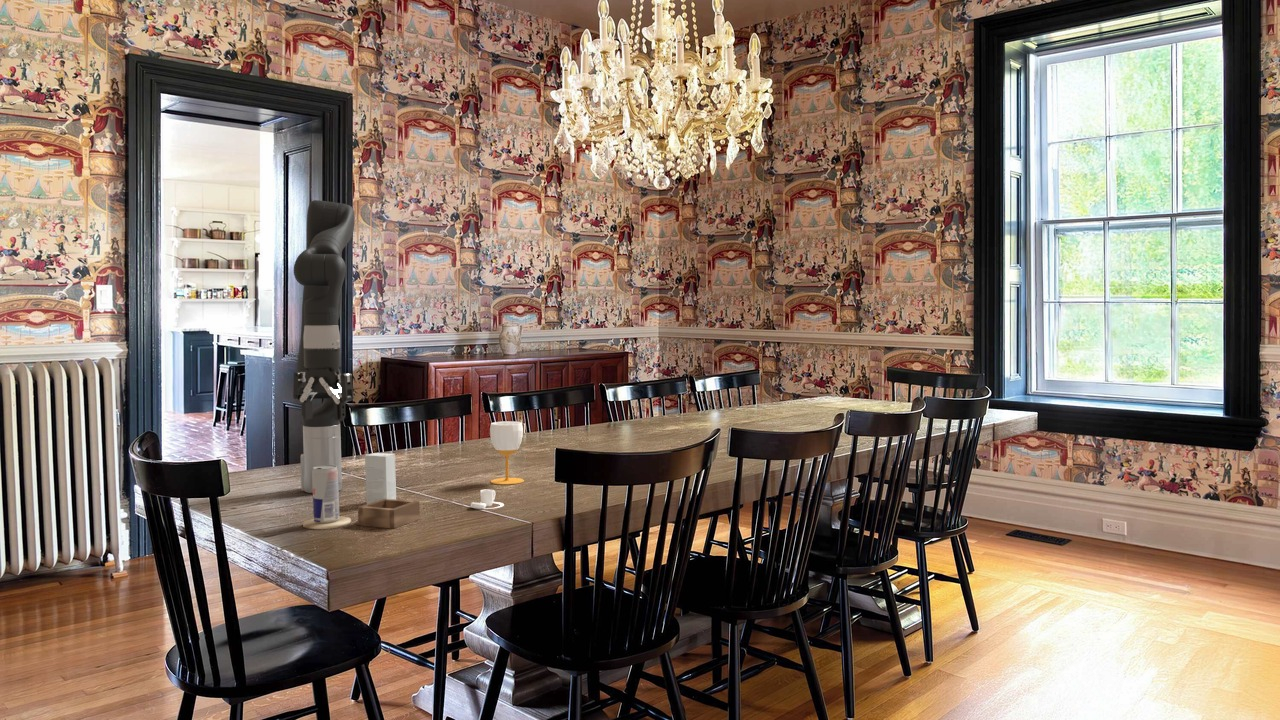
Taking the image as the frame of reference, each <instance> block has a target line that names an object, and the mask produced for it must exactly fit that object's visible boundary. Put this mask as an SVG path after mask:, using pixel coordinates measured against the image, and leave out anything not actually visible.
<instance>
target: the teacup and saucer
mask: <svg viewBox="0 0 1280 720" xmlns="http://www.w3.org/2000/svg"><path fill="white" fill-rule="evenodd" d="M496 496H497V495H496V490H494V489H492V488H491V489H489V488H487V489H485V488H484V489H480V502H476V501H475V502H474V501H473V502H470V508H472V509H475V510H493V509H494V510H495V509H499V508H502V507H504V506H505V504H504V502H500V501H495V498H496ZM493 504H495V505H496V504H497V505H498V506H495V507H491V506H493ZM499 505H500V506H499Z"/></svg>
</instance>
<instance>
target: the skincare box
mask: <svg viewBox="0 0 1280 720" xmlns="http://www.w3.org/2000/svg"><path fill="white" fill-rule="evenodd" d="M364 463H365V465H364V467H365V469H364V470H365V471H364V472H365V500H366V504H369V503H372V502H375V501H378V500H381V499H396V500H397V483H396V481H397V480H396V479H397V477H396V476H397V475H396V454H395V453H387V452H386V453H383V452H374V453H373V452H372V453H369V454H365V455H364Z"/></svg>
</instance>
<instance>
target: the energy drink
mask: <svg viewBox="0 0 1280 720" xmlns="http://www.w3.org/2000/svg"><path fill="white" fill-rule="evenodd" d="M312 485H313V493H312V507H313V508H312V509H313V511H312V513H313V518H314V522H315V523H320V524H325V523H333V522H336V521H338V520H339V516H340V502H339V501H340V499H339V497H340V495H339V491H338V470H337V466H335V465H322V466H316V467H313V470H312Z"/></svg>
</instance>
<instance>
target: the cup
mask: <svg viewBox="0 0 1280 720" xmlns="http://www.w3.org/2000/svg"><path fill="white" fill-rule="evenodd" d="M489 426H490V428H489V435H490V439H491V443H492V446H493V447H494V450H496V451H497V452H498V453H499V454H500V455H503V456H504V457H505V477H500V478H494V479H492V480H490V483H491V484H493V485H499V486H503V485H504V486H509V485H510V486H511V485H518V484H522V483H524V481H525V480H524V479H523V478H519V477H509V476H510V475H509V474H510V473H509V471H510V470H509V468H510V467H509V464H510V462H509V457H510V456H511V455H513V454H515V453H516V452H517V451H518V449H519V448H520V446H521V443H522V440H523V436H524V435H523V434H524V428H523V422H521V421H516V420H515V421H513V420H510V421H509V420H508V421H507V420H505V421H495V422H491V423H490V425H489Z"/></svg>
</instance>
